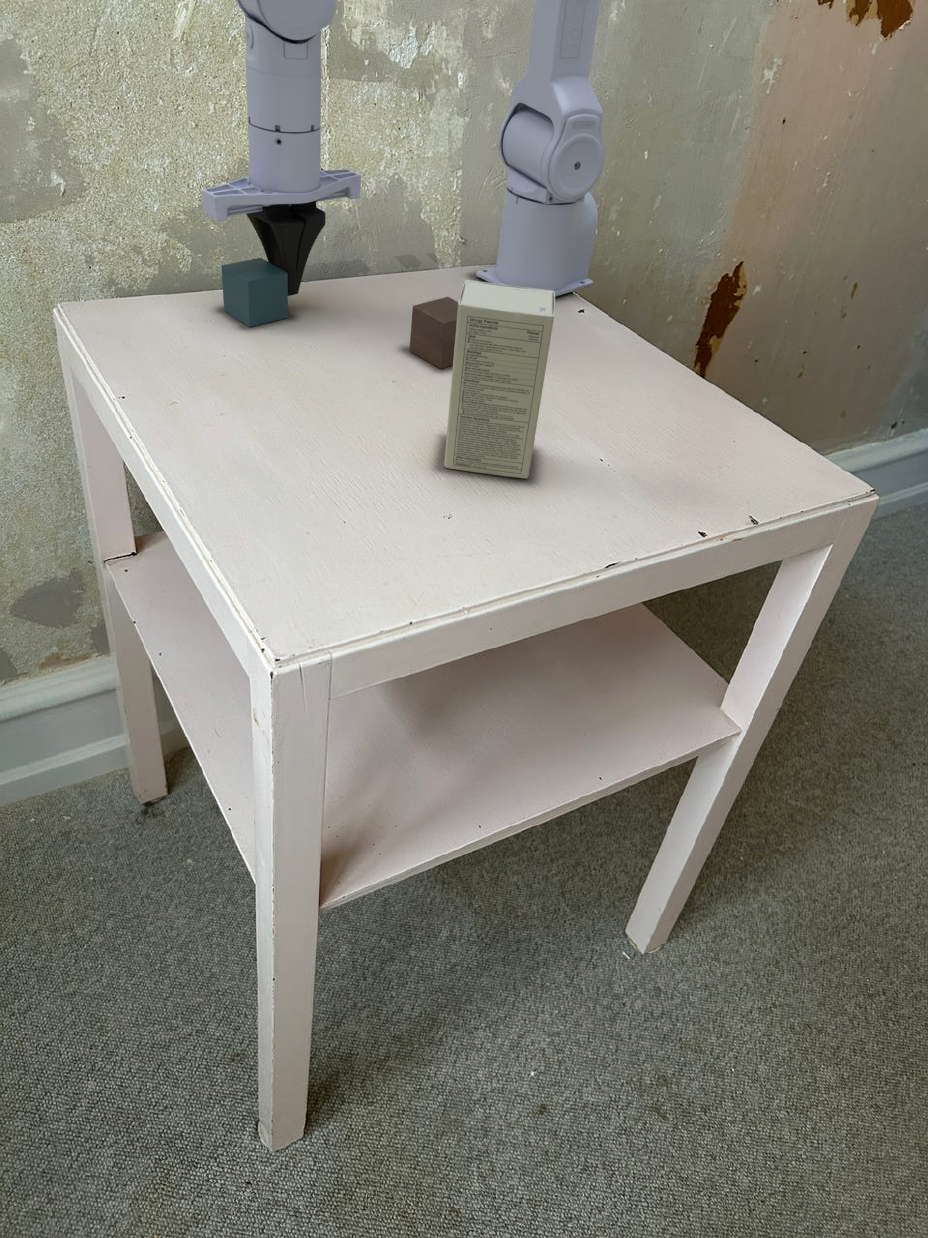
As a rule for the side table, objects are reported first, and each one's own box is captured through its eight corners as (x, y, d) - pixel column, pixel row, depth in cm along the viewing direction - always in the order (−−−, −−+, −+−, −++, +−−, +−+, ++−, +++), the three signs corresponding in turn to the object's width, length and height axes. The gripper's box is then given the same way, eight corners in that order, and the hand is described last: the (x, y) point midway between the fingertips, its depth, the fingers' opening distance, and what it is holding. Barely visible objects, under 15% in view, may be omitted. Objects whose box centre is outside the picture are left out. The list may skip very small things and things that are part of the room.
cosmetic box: (530, 450, 70) (559, 289, 62) (528, 482, 67) (558, 316, 59) (446, 438, 70) (464, 276, 62) (439, 469, 67) (457, 301, 59)
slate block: (262, 301, 85) (260, 256, 82) (288, 317, 83) (287, 272, 80) (223, 310, 83) (220, 264, 80) (249, 327, 81) (247, 281, 78)
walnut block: (443, 340, 83) (447, 296, 80) (474, 358, 81) (480, 313, 78) (409, 350, 81) (412, 305, 78) (440, 369, 79) (445, 323, 76)
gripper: (326, 103, 81) (324, 261, 90) (176, 117, 73) (189, 290, 82) (379, 125, 78) (371, 287, 86) (227, 142, 69) (235, 320, 78)
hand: (286, 291), depth 84 cm, fingers closed
